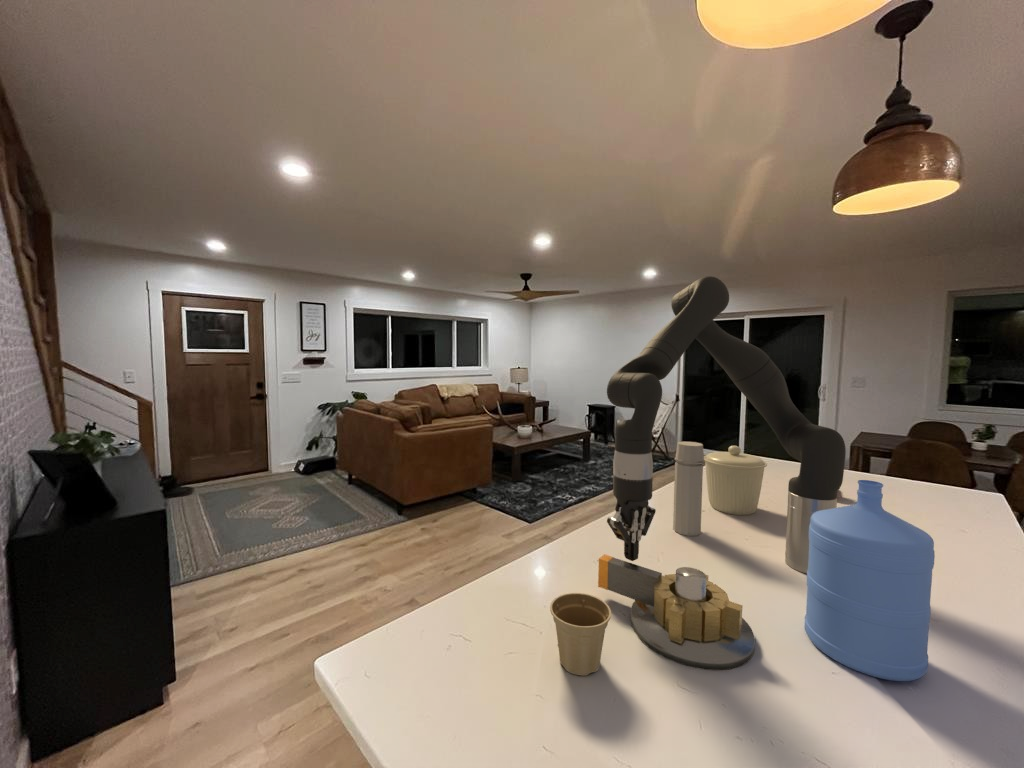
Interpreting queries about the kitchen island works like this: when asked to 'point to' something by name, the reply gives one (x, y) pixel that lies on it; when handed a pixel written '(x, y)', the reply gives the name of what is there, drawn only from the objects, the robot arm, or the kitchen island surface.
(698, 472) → the water bottle
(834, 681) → the kitchen island surface
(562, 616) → the flower pot
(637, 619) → the housing
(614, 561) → the segmented ring on plate
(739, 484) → the canister
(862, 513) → the water jug
